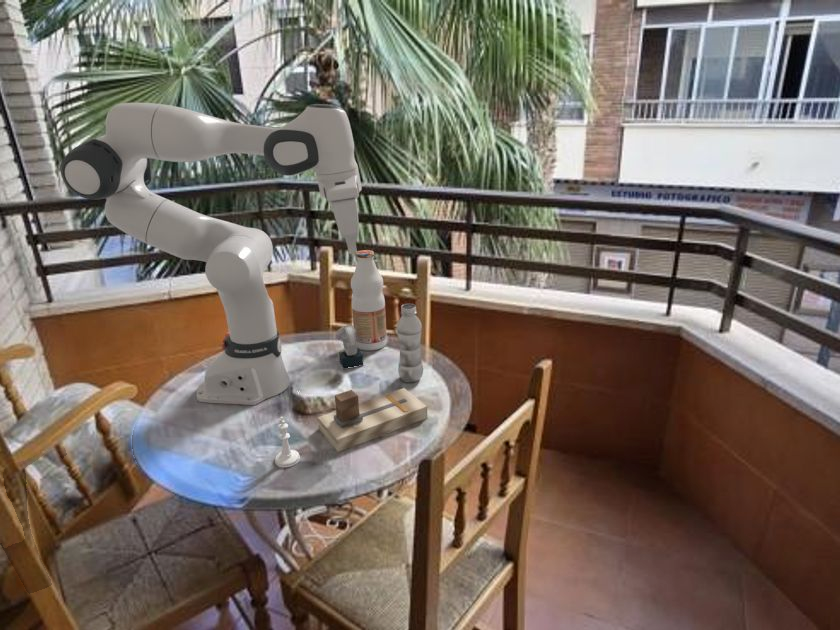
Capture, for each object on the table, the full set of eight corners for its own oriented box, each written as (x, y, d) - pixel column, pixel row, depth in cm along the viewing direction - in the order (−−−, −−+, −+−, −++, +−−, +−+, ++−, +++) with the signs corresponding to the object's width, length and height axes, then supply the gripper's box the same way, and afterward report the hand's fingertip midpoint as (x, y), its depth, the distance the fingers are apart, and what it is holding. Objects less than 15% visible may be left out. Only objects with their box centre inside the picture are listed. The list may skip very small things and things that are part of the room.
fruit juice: (357, 353, 152) (350, 258, 142) (352, 340, 161) (345, 249, 150) (390, 348, 154) (385, 254, 144) (383, 336, 163) (378, 246, 152)
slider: (341, 427, 112) (339, 403, 110) (333, 419, 115) (331, 394, 113) (363, 420, 115) (361, 395, 112) (354, 411, 118) (352, 388, 116)
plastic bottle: (424, 373, 140) (423, 301, 133) (422, 385, 134) (420, 311, 127) (400, 372, 141) (397, 301, 134) (396, 385, 135) (393, 311, 127)
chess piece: (292, 449, 111) (286, 407, 107) (304, 460, 108) (299, 417, 104) (270, 459, 108) (264, 417, 104) (282, 470, 105) (276, 427, 101)
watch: (357, 356, 151) (354, 319, 146) (365, 368, 144) (362, 330, 139) (337, 359, 149) (334, 323, 145) (344, 372, 142) (341, 334, 138)
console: (338, 452, 110) (336, 439, 109) (318, 429, 118) (317, 416, 116) (427, 417, 121) (427, 405, 120) (404, 398, 129) (403, 387, 127)
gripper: (324, 180, 122) (335, 239, 128) (326, 194, 104) (339, 262, 109) (351, 176, 123) (361, 234, 128) (358, 189, 104) (370, 257, 110)
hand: (351, 247), depth 118 cm, fingers open, 8 cm apart
